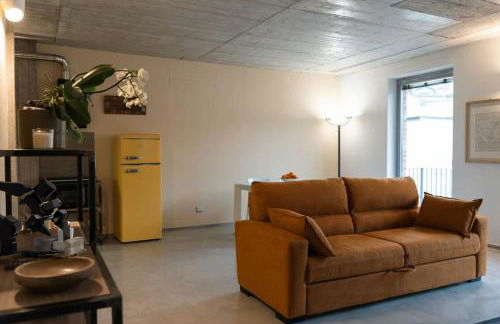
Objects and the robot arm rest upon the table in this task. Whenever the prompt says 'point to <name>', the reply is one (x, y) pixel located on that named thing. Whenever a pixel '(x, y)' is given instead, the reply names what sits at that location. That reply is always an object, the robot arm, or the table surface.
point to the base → (70, 248)
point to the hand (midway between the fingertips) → (58, 233)
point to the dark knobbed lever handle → (66, 235)
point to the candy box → (49, 222)
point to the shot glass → (60, 233)
